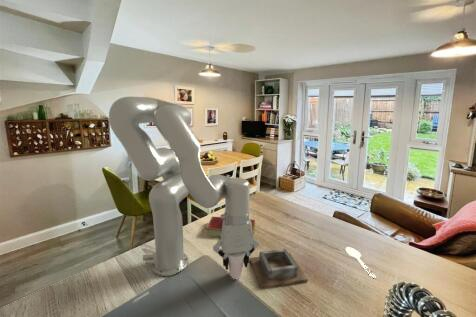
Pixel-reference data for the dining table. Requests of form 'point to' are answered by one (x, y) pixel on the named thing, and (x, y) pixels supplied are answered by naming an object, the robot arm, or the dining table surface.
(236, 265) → the smoothie
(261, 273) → the holder
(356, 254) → the spoon
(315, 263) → the dining table surface
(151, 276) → the dining table surface
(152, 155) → the robot arm
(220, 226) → the hardcover book
